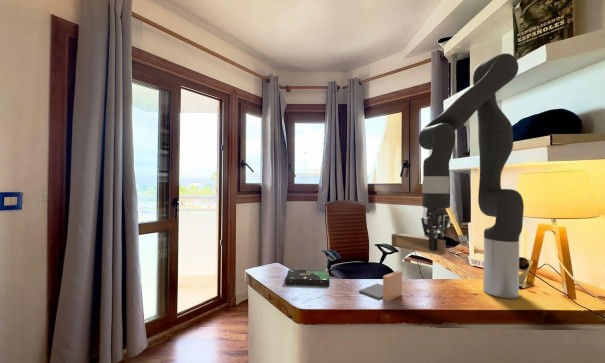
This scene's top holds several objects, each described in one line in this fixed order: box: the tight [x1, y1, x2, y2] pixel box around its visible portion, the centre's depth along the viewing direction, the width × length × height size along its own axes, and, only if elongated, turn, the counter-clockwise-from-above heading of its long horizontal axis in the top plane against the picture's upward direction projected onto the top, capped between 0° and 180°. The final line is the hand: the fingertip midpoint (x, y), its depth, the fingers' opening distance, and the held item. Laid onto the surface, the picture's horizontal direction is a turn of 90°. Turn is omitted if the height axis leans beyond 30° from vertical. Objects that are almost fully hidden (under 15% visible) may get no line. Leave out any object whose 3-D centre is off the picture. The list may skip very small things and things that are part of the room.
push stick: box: [391, 232, 447, 256], centre depth 88 cm, size 3×16×4 cm, turn 41°
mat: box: [358, 283, 383, 301], centre depth 89 cm, size 10×7×1 cm
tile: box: [382, 270, 403, 302], centre depth 86 cm, size 8×2×7 cm, turn 131°
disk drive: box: [285, 269, 331, 287], centre depth 99 cm, size 10×3×15 cm
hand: (435, 249), depth 84 cm, fingers closed on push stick, 3 cm apart
